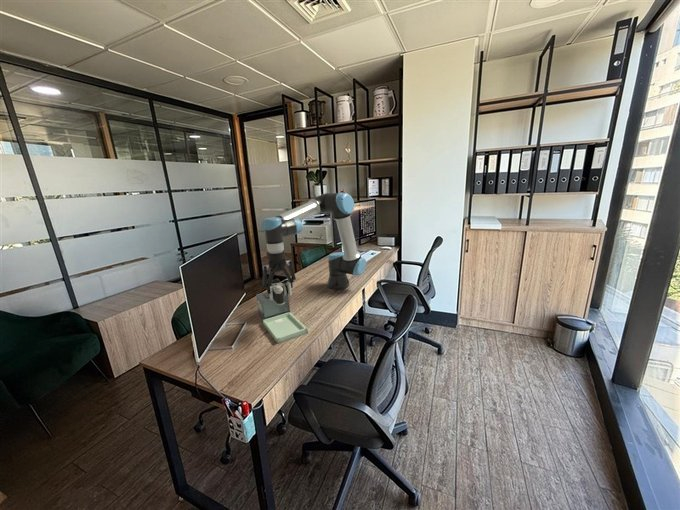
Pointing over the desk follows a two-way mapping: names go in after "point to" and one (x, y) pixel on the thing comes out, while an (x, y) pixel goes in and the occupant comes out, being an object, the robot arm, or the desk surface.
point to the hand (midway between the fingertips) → (281, 296)
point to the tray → (284, 327)
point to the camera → (279, 291)
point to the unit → (271, 306)
